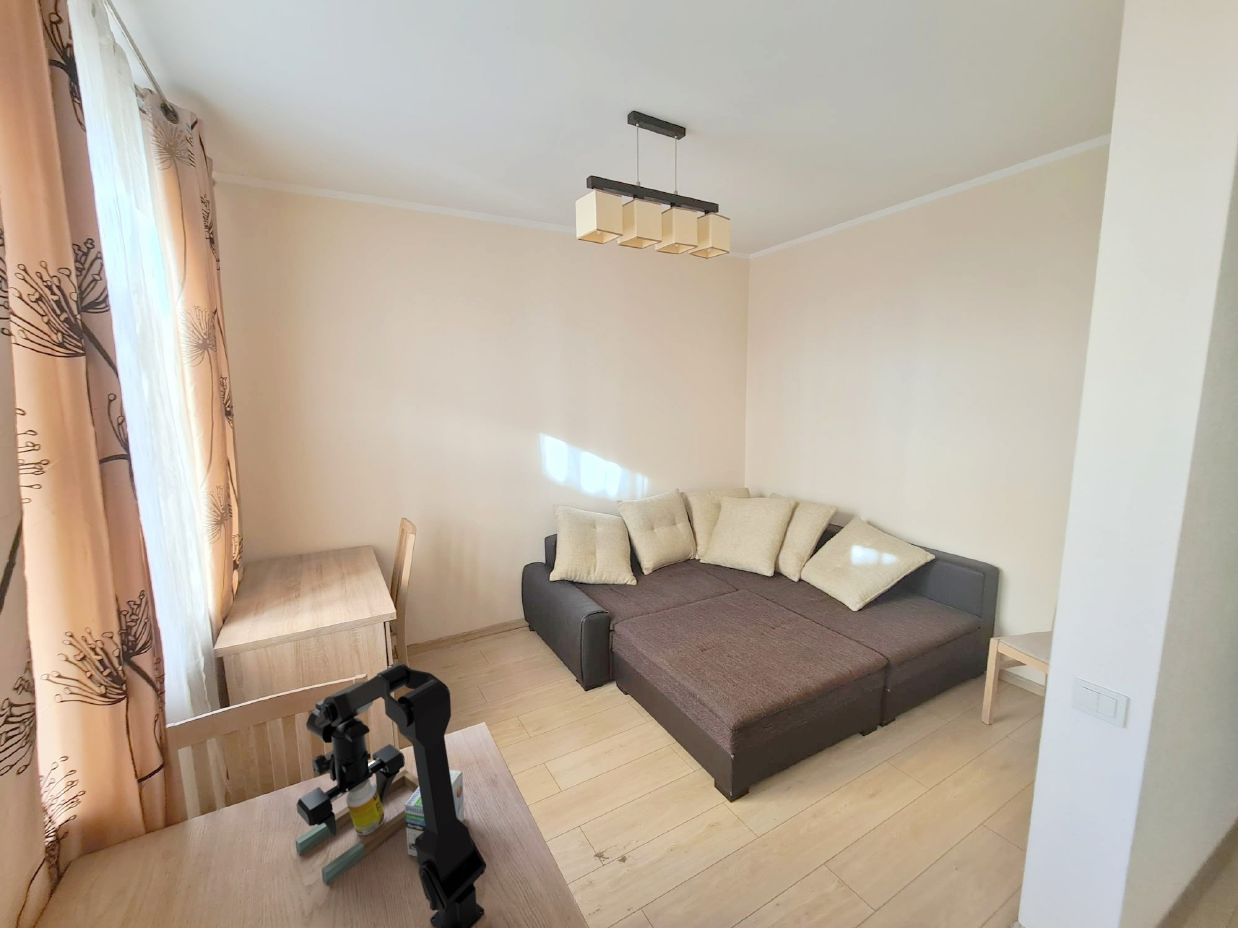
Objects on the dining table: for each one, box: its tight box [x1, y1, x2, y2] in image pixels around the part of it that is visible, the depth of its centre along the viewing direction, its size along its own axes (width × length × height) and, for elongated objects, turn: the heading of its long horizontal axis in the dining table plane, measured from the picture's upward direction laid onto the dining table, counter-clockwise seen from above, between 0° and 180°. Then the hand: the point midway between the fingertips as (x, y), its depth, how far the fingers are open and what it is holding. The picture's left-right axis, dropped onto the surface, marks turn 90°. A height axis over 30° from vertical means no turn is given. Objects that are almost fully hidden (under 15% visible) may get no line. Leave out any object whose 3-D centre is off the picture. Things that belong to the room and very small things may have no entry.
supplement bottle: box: [345, 778, 385, 836], centre depth 104 cm, size 6×6×10 cm
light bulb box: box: [404, 769, 465, 857], centre depth 102 cm, size 11×7×11 cm, turn 168°
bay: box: [295, 769, 419, 886], centre depth 105 cm, size 12×23×2 cm, turn 144°
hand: (358, 818), depth 103 cm, fingers open, 9 cm apart
